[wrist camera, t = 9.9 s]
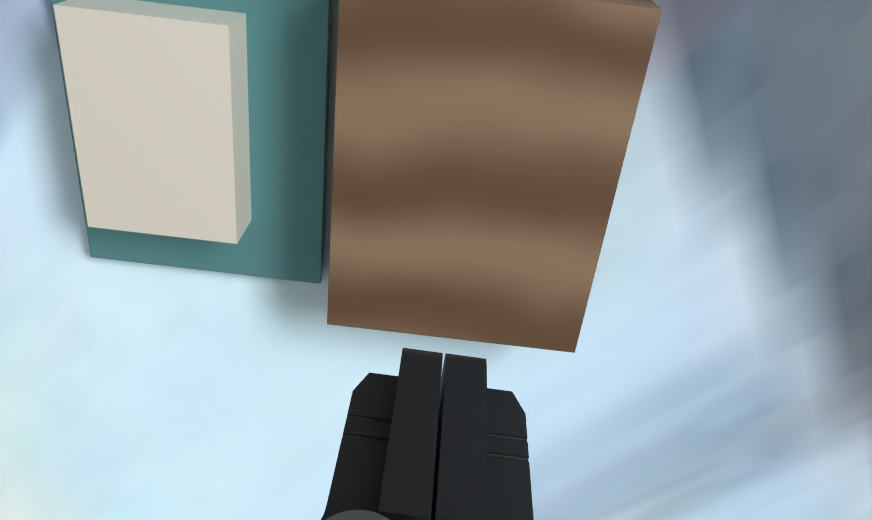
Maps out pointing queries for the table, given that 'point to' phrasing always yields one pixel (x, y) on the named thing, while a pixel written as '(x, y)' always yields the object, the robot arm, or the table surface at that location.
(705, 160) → the table surface
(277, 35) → the mat
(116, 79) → the cream rectangular tile
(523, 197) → the deck
